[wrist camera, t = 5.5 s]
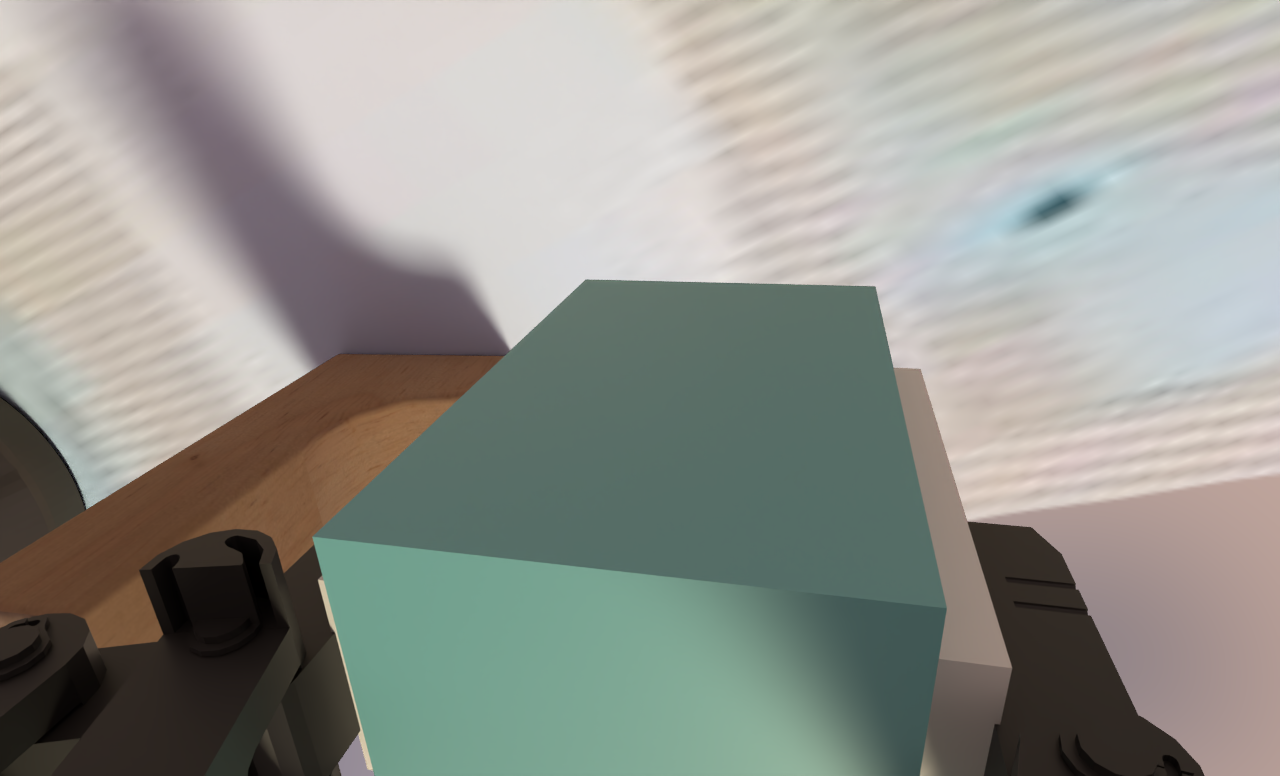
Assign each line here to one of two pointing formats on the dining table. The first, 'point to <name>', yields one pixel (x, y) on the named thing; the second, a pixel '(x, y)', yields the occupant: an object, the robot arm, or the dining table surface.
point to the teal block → (652, 550)
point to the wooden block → (238, 487)
